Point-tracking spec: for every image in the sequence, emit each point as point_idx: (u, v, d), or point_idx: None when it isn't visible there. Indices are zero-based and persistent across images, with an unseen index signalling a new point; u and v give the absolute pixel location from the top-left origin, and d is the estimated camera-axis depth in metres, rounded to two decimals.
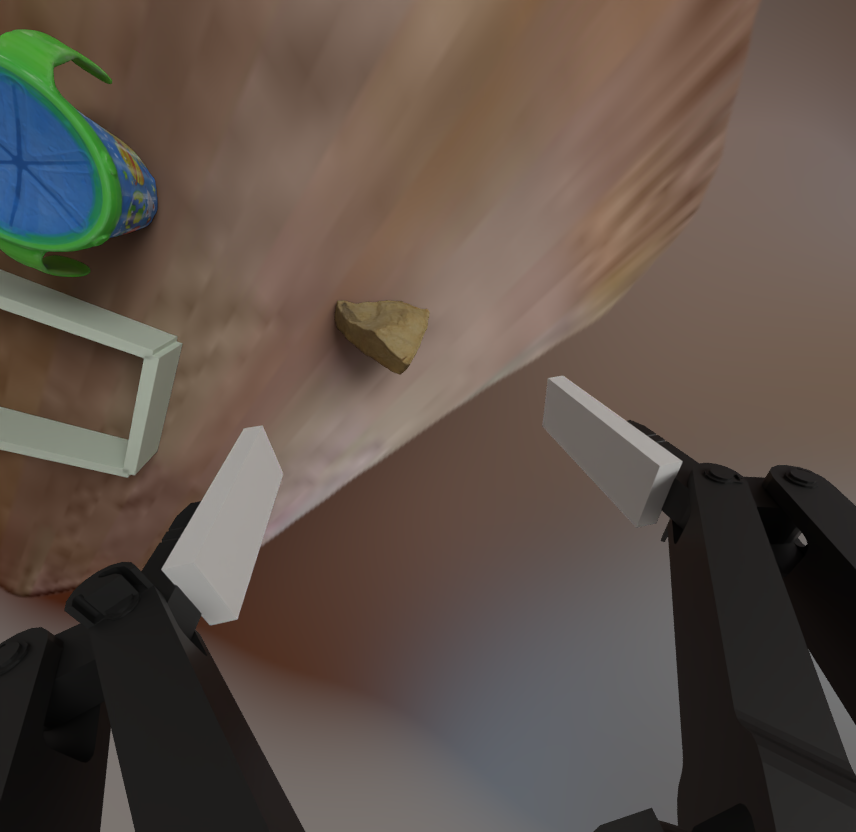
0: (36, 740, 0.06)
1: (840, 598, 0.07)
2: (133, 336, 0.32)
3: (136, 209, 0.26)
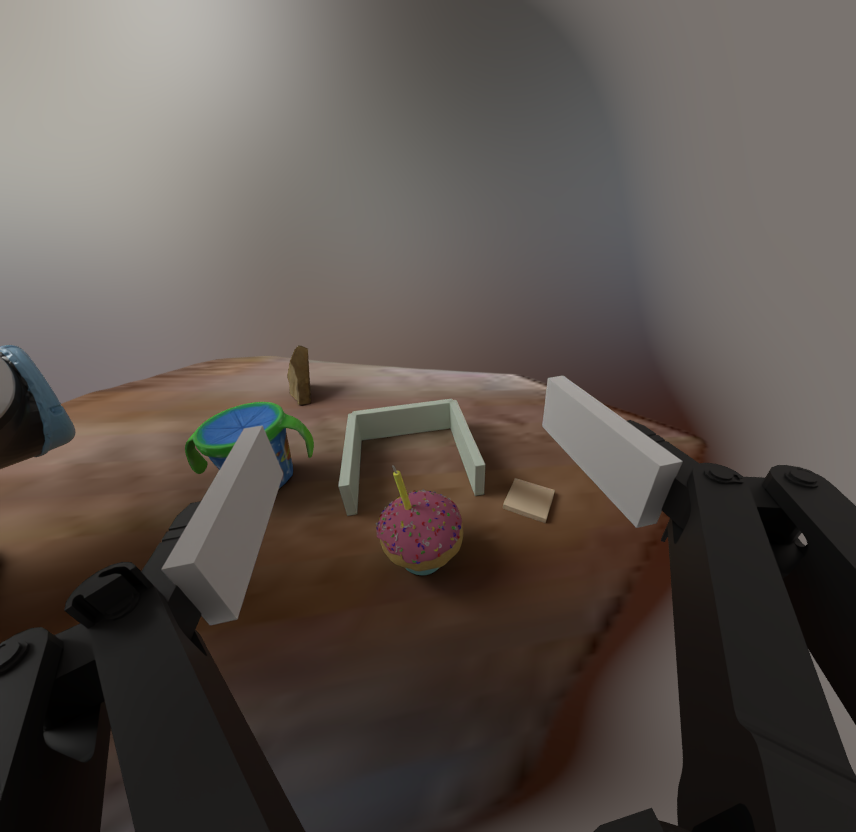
0: (36, 741, 0.06)
1: (840, 598, 0.07)
2: None
3: None
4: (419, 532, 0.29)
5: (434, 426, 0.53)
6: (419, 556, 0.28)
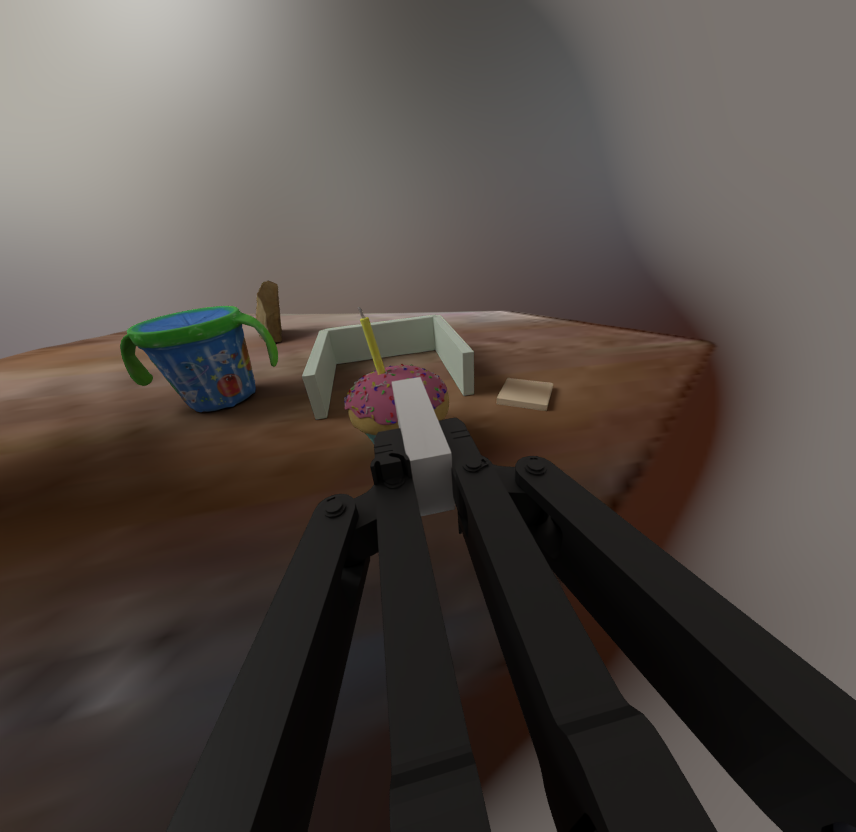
0: (338, 579, 0.08)
1: (595, 570, 0.08)
2: None
3: None
4: None
5: (417, 347, 0.48)
6: (394, 415, 0.23)
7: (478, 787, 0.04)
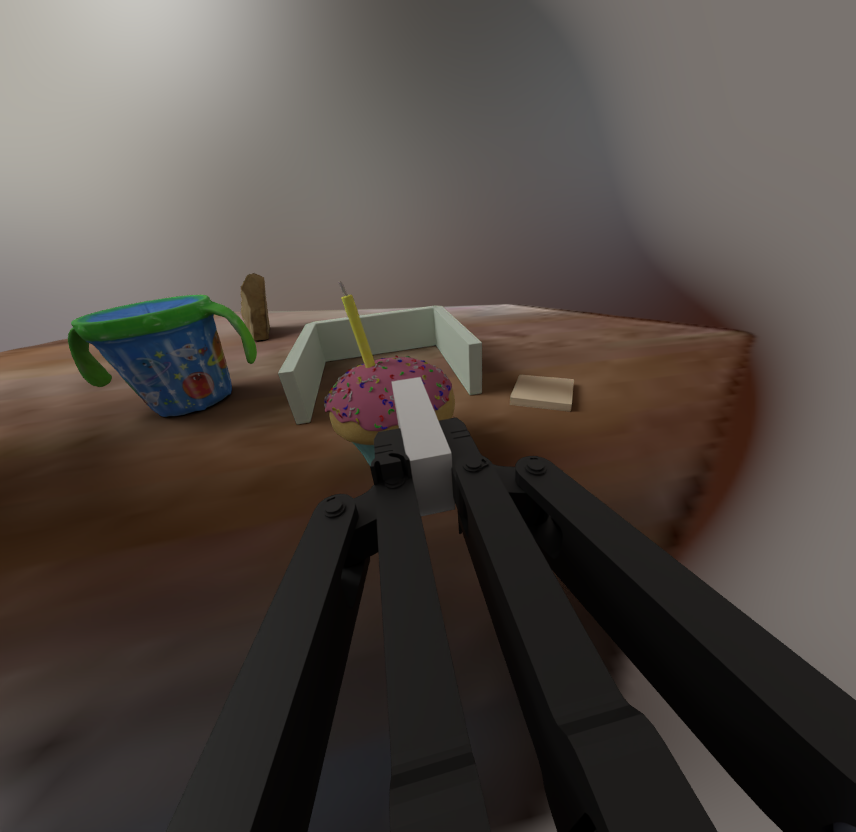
0: (338, 578, 0.08)
1: (595, 570, 0.08)
2: None
3: None
4: (385, 387, 0.18)
5: (416, 342, 0.43)
6: (385, 419, 0.18)
7: (478, 787, 0.04)
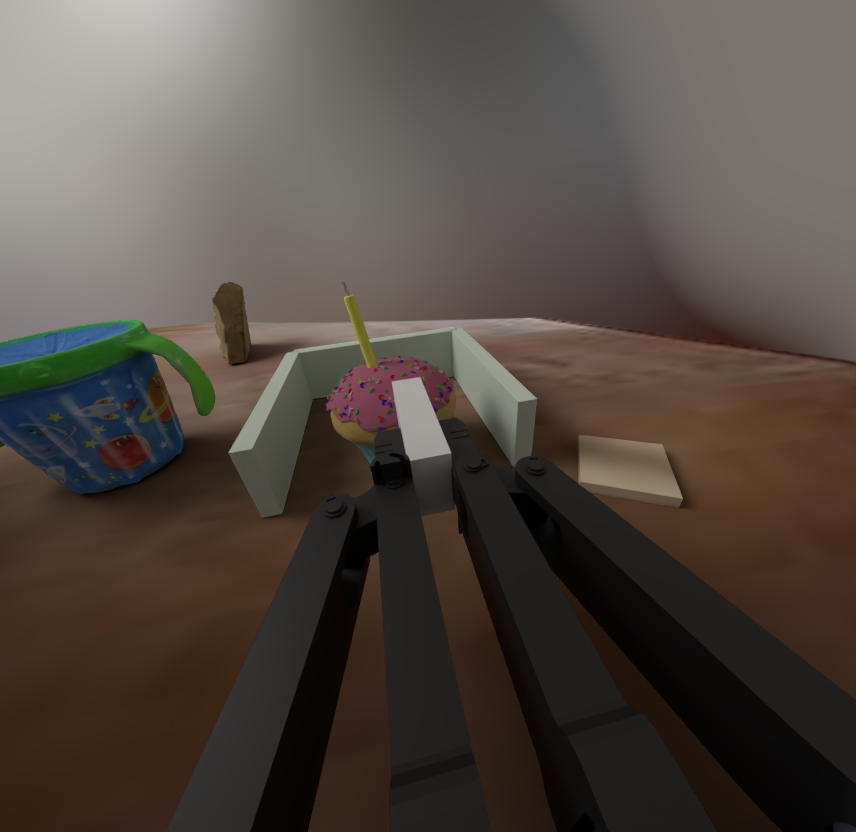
0: (339, 578, 0.08)
1: (595, 570, 0.08)
2: None
3: None
4: (385, 388, 0.18)
5: None
6: (384, 420, 0.18)
7: (478, 787, 0.04)
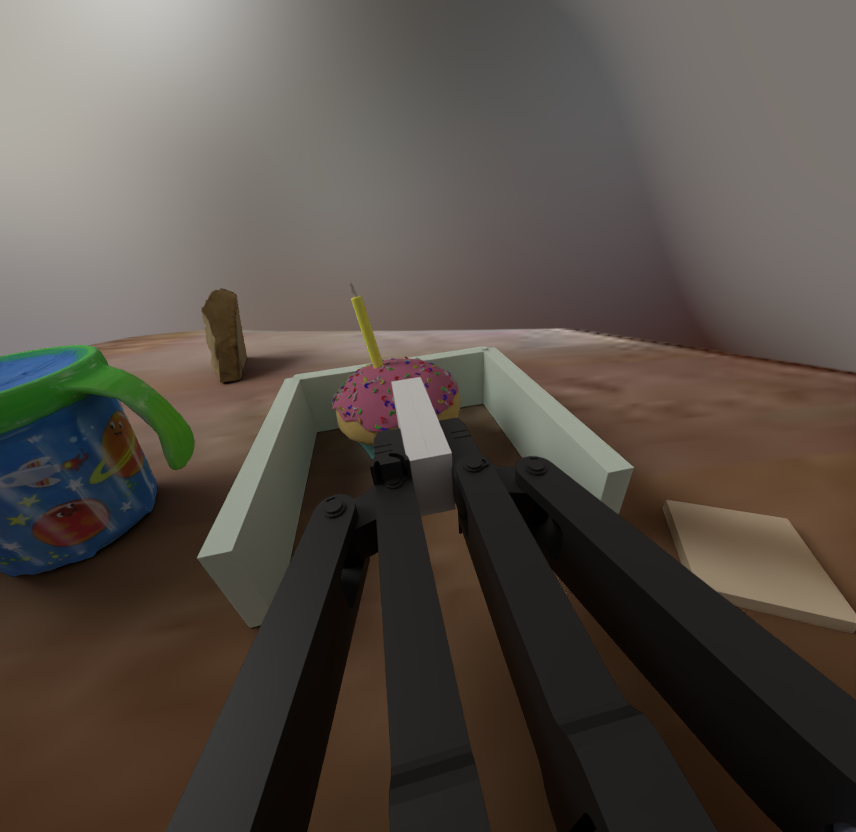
0: (338, 579, 0.08)
1: (595, 570, 0.08)
2: None
3: None
4: (389, 389, 0.18)
5: None
6: (386, 420, 0.18)
7: (478, 787, 0.04)
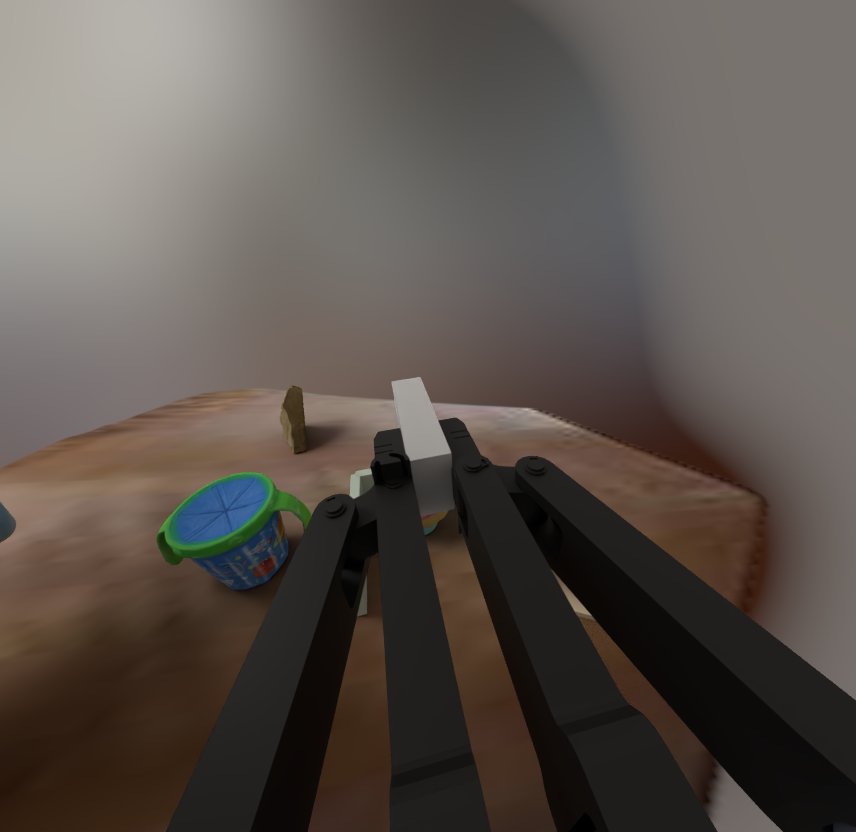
0: (338, 579, 0.08)
1: (595, 570, 0.08)
2: None
3: None
4: None
5: None
6: None
7: (478, 787, 0.04)
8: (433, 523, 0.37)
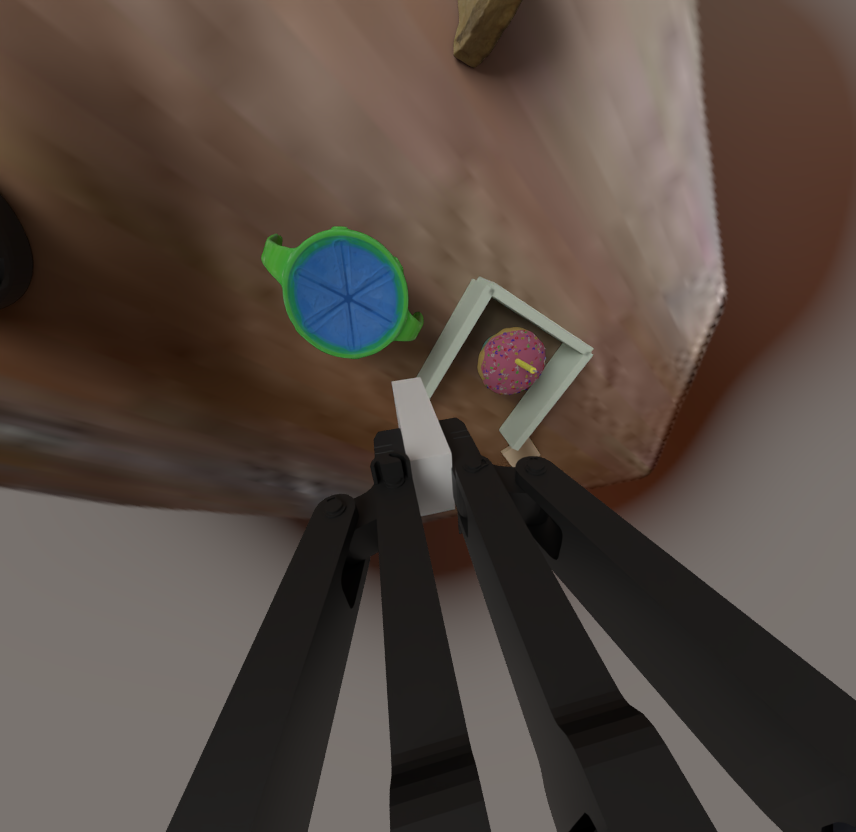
0: (338, 579, 0.08)
1: (595, 570, 0.08)
2: (471, 302, 0.35)
3: None
4: (504, 382, 0.38)
5: (551, 335, 0.42)
6: (491, 387, 0.40)
7: (478, 787, 0.04)
8: None
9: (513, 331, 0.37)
